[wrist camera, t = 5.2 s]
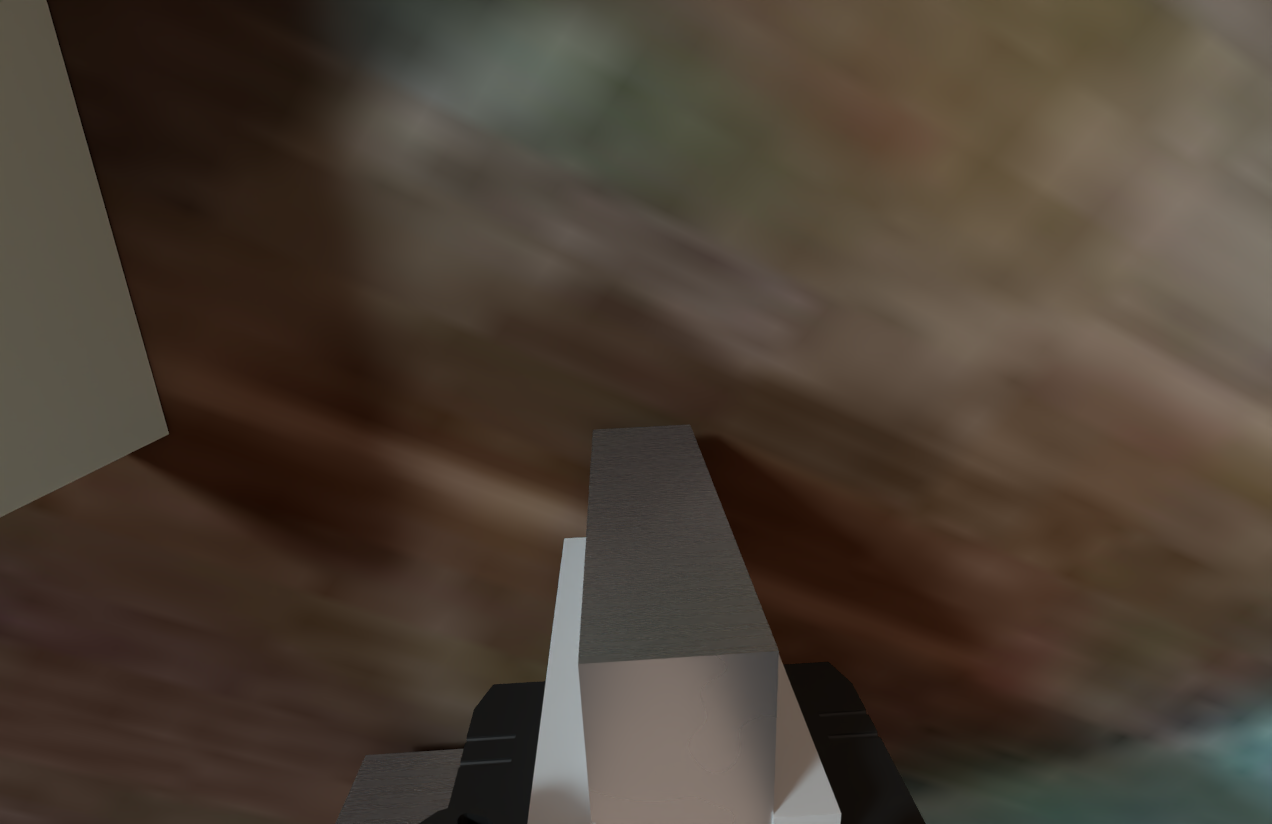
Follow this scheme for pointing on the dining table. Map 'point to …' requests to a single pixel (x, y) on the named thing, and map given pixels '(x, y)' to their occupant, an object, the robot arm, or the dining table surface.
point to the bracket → (645, 657)
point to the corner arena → (59, 284)
